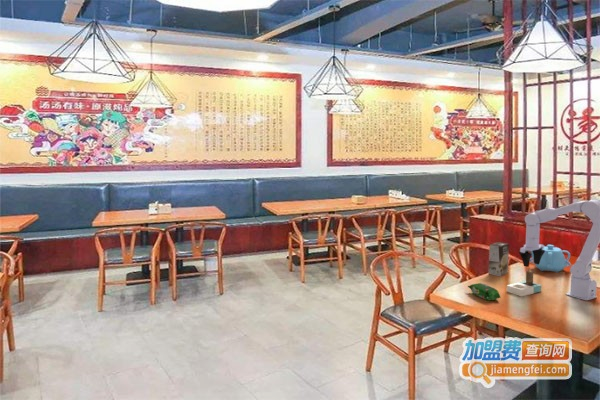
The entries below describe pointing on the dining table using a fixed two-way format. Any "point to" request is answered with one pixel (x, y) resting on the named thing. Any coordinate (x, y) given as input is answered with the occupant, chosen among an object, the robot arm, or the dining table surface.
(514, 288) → the hole block
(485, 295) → the snack package
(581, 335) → the dining table surface
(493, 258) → the coffee box
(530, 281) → the walnut dowel
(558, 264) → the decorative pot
